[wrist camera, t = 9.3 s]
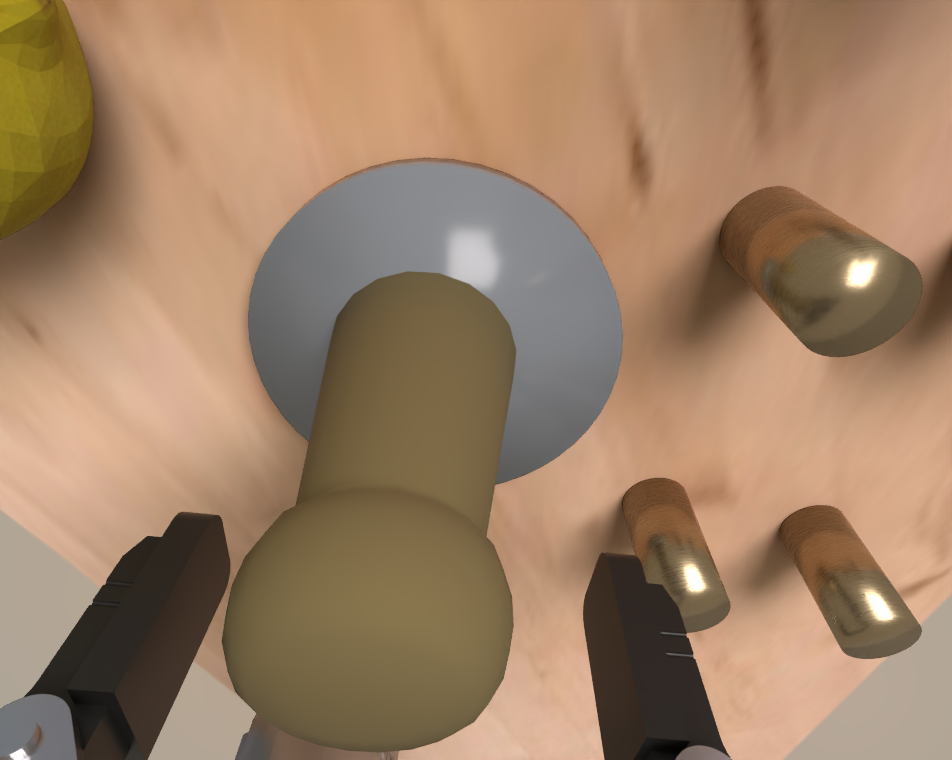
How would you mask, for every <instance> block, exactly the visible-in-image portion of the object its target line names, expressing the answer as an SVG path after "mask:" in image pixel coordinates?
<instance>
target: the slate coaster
mask: <svg viewBox="0 0 952 760" xmlns="http://www.w3.org/2000/svg"><path fill="white" fill-rule="evenodd" d="M406 271H411V272H430V273H441V274H443V275H446V276H449V277H452V278H454V279H457V280H460V281H463V282H466V283H468V284H470V285H471V286H473V287H474V288H475V289H477V290H478V291H479V292H481V293H482V294H483V295H485V296H486V297H487V298H489V299H490V300H491V301H493V302H494V303H495V305H496V306H497V308H498V309H499V311H500V312H501V313H502V315H503V316H504V318H505V319H506V321H507V322H508V323H509V325H510V328H511V332H512V336H513V339H514V343H515V347H516V360H515V369H514V377H513V383H512V389H511V395H510V401H509V407H508V412H507V418H506V424H505V430H504V436H503V441H502V447H501V453H500V459H499V465H498V471H497V476H496V482H495V484H500V483H504V482H507V481H510V480H512V479H515V478H518V477H521V476H524V475H526V474H528V473H530V472H532V471H534V470H536V469H538V468H540V467H542V466H544V465H546V464H547V463H549V462H550V461H552V460H554V459H555V458H557V457H558V456H560V455H561V454H562V453H563V452H565V451H566V450H567V449H568V448H570V447H571V446H572V445H573V444H574V443H575V442H576V441H577V440H578V439H579V438H580V437H581V436H582V435H583V434H584V433H585V432H586V431H587V430H588V429H589V428H590V426H591V425H592V424H593V422H594V421H595V420H596V418H597V417H598V416H599V414H600V413H601V411H602V409H603V407H604V405H605V404H606V402H607V400H608V398H609V396H610V394H611V391H612V389H613V386H614V383H615V381H616V378H617V374H618V370H619V365H620V361H621V353H622V339H623V334H622V323H621V313H620V309H619V305H618V301H617V297H616V293H615V290H614V288H613V285H612V283H611V281H610V278H609V276H608V273H607V271H606V269H605V266H604V264H603V262H602V259H601V257H600V255H599V254H598V252H597V251H596V249H595V247H594V246H593V244H592V242H591V241H590V239H589V237H588V236H587V235H586V234H585V232H584V231H583V230H582V229H581V227H580V226H579V225H578V224H577V223H576V221H575V220H574V219H573V218H572V217H571V216H570V215H569V214H568V213H567V212H566V211H564V210H563V209H562V208H561V207H560V206H559V205H558V204H557V203H556V202H555V201H554V200H552V199H551V198H549V197H548V196H546V195H545V194H543V193H542V192H540V191H539V190H537V189H536V188H534V187H533V186H532V185H530V184H528V183H526V182H523V181H521V180H519V179H517V178H515V177H513V176H511V175H509V174H507V173H505V172H502V171H499V170H496V169H493V168H490V167H487V166H484V165H481V164H476V163H470V162H465V161H460V160H454V159H438V158H417V159H406V160H396V161H392V162H388V163H383V164H379V165H375V166H371V167H368V168H366V169H363V170H360V171H358V172H355V173H353V174H350V175H348V176H345V177H344V178H342V179H340V180H339V181H337V182H335V183H333V184H332V185H330V186H328V187H326V188H325V189H323V190H322V191H321V192H319V193H318V194H317V195H316V196H314V197H313V198H312V199H311V200H309V201H308V202H307V203H306V204H304V206H303V207H302V208H301V209H300V210H299V211H298V212H297V213H296V214H295V215H294V216H293V217H292V218H291V220H290V221H289V222H288V223H287V224H286V225H285V226H284V227H283V228H282V229H281V231H280V232H279V233H278V234H277V235H276V237H275V239H274V240H273V242H272V243H271V245H270V246H269V248H268V249H267V251H266V252H265V254H264V256H263V259H262V261H261V263H260V266H259V268H258V270H257V272H256V275H255V279H254V283H253V286H252V290H251V294H250V302H249V313H248V326H249V340H250V345H251V349H252V354H253V359H254V362H255V365H256V367H257V370H258V373H259V375H260V378H261V381H262V382H263V384H264V386H265V388H266V390H267V392H268V394H269V396H270V398H271V399H272V401H273V402H274V403H275V405H276V406H277V408H278V409H279V411H280V412H281V413H282V415H283V416H284V417H285V418H286V419H287V421H288V422H289V423H290V424H291V425H292V426H293V427H294V428H295V430H296V431H297V432H298V433H300V434H301V435H302V436H303V437H304V438H305V439H306V440H307V441H309V440H310V436H311V431H312V426H313V421H314V417H315V412H316V407H317V402H318V397H319V393H320V388H321V383H322V378H323V374H324V369H325V364H326V359H327V355H328V350H329V345H330V340H331V337H332V333H333V329H334V325H335V322H336V318H337V315H338V314H339V313H340V311H341V310H342V309H343V307H344V306H345V305H346V303H347V302H348V301H349V299H350V298H351V297H352V295H353V294H355V293H356V292H358V291H359V290H361V289H362V288H364V287H365V286H367V285H368V284H370V283H372V282H373V281H375V280H376V279H379V278H383V277H387V276H390V275H394V274H398V273H402V272H406Z"/></svg>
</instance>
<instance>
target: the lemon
mask: <svg viewBox="0 0 952 760" xmlns="http://www.w3.org/2000/svg"><path fill="white" fill-rule="evenodd" d="M93 125H94V102H93V95H92V88H91V83H90V79H89V74H88V70H87V65H86V61H85V58H84V55H83V52H82V48H81V45H80V42H79V39H78V36H77V33H76V31H75V28H74V25H73V23H72V20H71V18H70V15H69V12H68V10H67V7H66V5H65V4H64V2H63V0H0V239H2V238H4V237H6V236H9V235H11V234H13V233H15V232H17V231H19V230H21V229H22V228H24V227H26V226H27V225H29V224H30V223H32V222H34V221H35V220H36V219H38V218H39V217H40V216H41V215H43V214H44V213H45V212H46V211H47V210H49V209H50V208H51V207H52V206H53V205H55V204H56V203H57V202H58V201H59V200H61V199H62V198H63V197H64V196H65V195H67V193H68V192H69V190H70V189H71V187H72V186H73V184H74V182H75V181H76V179H77V178H78V176H79V174H80V171H81V169H82V167H83V165H84V163H85V161H86V158H87V154H88V151H89V147H90V143H91V138H92V131H93Z"/></svg>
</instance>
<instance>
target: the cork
mask: <svg viewBox="0 0 952 760" xmlns="http://www.w3.org/2000/svg"><path fill="white" fill-rule="evenodd" d="M515 360H516V347H515V343H514V339H513V336H512V332H511V328H510V325H509V323H508V322H507V321H506V319H505V318H504V316H503V315H502V313H501V312H500V311H499V309H498V308H497V306H496V305H495V303H494V302H493V301H491V300H490V299H489V298H487V297H486V296H485V295H483V294H482V293H481V292H479V291H478V290H477V289H475V288H474V287H473V286H471V285H470V284H468V283H466V282H463V281H460V280H457V279H454V278H452V277H449V276H446V275H443V274H441V273H430V272H411V271H406V272H402V273H398V274H394V275H390V276H387V277H383V278H379V279H376V280H375V281H373V282H372V283H370V284H368V285H367V286H365V287H364V288H362V289H361V290H359V291H358V292H356V293H355V294H353V295H352V297H351V298H350V299H349V301H348V302H347V303H346V305H345V306H344V307H343V309H342V310H341V311H340V313H339V314H338V315H337V318H336V322H335V325H334V329H333V333H332V337H331V340H330V345H329V350H328V355H327V359H326V364H325V369H324V374H323V378H322V383H321V388H320V393H319V397H318V402H317V407H316V412H315V417H314V421H313V426H312V431H311V436H310V440H309V445H308V450H307V455H306V459H305V464H304V469H303V474H302V478H301V483H300V488H299V493H298V498H297V502H296V506H295V507H293V508H291V509H289V510H287V511H285V512H283V513H282V514H281V516H280V517H279V518H278V519H277V520H276V521H275V522H274V523H273V525H272V526H271V527H270V528H269V529H268V530H267V531H266V532H265V534H264V535H263V536H262V537H261V538H260V540H259V541H258V542H257V543H256V545H255V546H254V547H253V548H252V549H251V551H250V552H249V553H248V554H247V555H246V557H245V559H244V561H243V563H242V565H241V567H240V569H239V571H238V573H237V576H236V578H235V580H234V582H233V584H232V588H231V592H230V597H229V602H228V607H227V611H226V618H225V624H224V630H223V637H222V645H223V650H224V655H225V660H226V665H227V670H228V673H229V676H230V679H231V681H232V684H233V686H234V689H235V692H236V693H237V694H238V695H239V696H240V697H241V698H242V699H243V700H244V701H245V702H246V703H247V704H248V705H249V706H250V707H251V708H252V709H253V710H254V711H255V712H256V713H257V714H258V715H259V716H260V717H261V718H263V719H264V720H265V721H266V722H268V723H270V724H271V725H273V726H275V727H277V728H278V729H280V730H282V731H283V732H285V733H287V734H289V735H291V736H294V737H297V738H300V739H302V740H305V741H308V742H311V743H314V744H317V745H321V746H326V747H331V748H337V749H342V750H347V751H362V752H390V751H400V750H410V749H414V748H418V747H421V746H425V745H428V744H432V743H435V742H438V741H440V740H442V739H444V738H447V737H449V736H451V735H452V734H454V733H456V732H458V731H459V730H461V729H463V728H464V727H466V726H468V725H470V724H471V723H473V722H474V721H475V720H476V719H477V718H478V716H479V715H480V714H481V713H482V711H483V710H484V709H485V708H486V706H487V705H488V704H489V702H490V700H491V699H492V697H493V695H494V694H495V692H496V690H497V689H498V687H499V685H500V684H501V682H502V680H503V679H504V674H505V670H506V665H507V660H508V656H509V651H510V645H511V639H512V632H513V607H512V595H511V592H510V589H509V586H508V583H507V580H506V576H505V573H504V570H503V568H502V565H501V562H500V560H499V557H498V554H497V552H496V549H495V547H494V545H493V544H492V542H491V541H490V540H489V539H488V538H487V537H486V535H487V529H488V523H489V517H490V511H491V506H492V500H493V494H494V488H495V482H496V476H497V471H498V465H499V459H500V453H501V447H502V441H503V436H504V430H505V424H506V418H507V412H508V407H509V401H510V395H511V389H512V383H513V377H514V369H515Z"/></svg>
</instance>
